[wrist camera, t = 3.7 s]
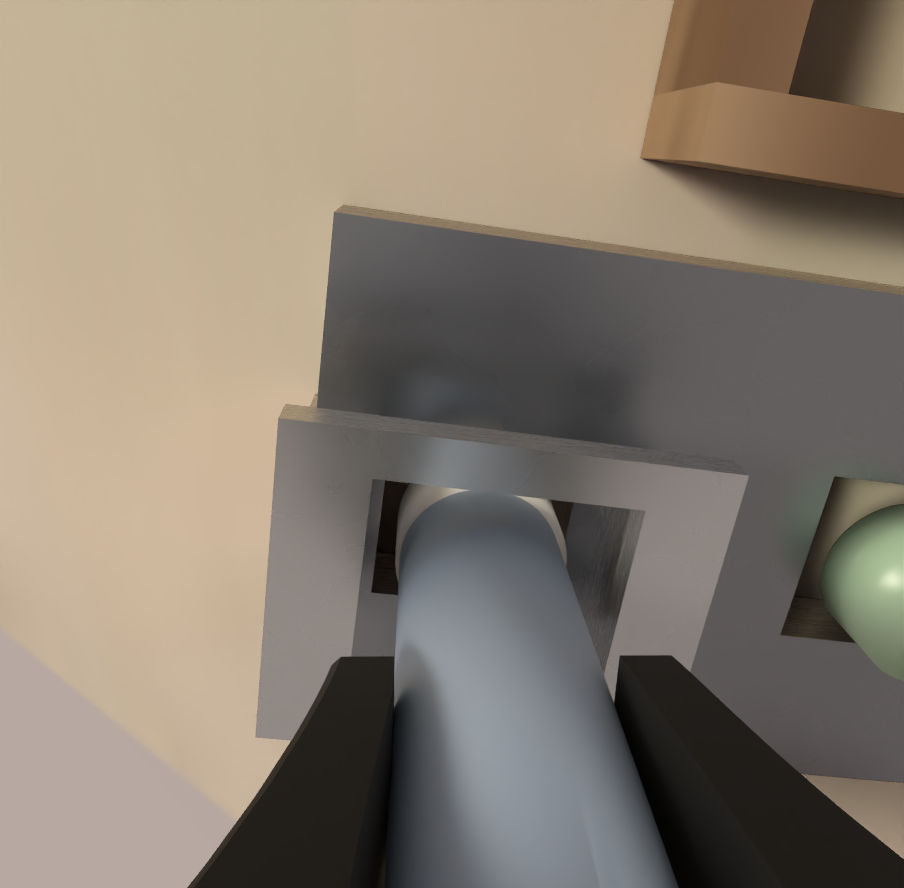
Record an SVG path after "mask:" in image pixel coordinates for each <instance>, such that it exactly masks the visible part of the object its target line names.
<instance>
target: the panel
mask: <svg viewBox="0 0 904 888" xmlns="http://www.w3.org/2000/svg"><path fill="white" fill-rule="evenodd" d="M834 476H837V477H845V478H853V479H861V480H870V481H878V482H886V483H894V484H902V485H904V287H899V286H892V285H885V284H878V283H872V282H865V281H858V280H851V279H844V278H838V277H831V276H824V275H817V274H810V273H804V272H797V271H790V270H783V269H776V268H770V267H763V266H756V265H749V264H742V263H736V262H729V261H722V260H715V259H708V258H702V257H695V256H688V255H681V254H674V253H668V252H661V251H654V250H647V249H640V248H634V247H627V246H620V245H613V244H606V243H600V242H593V241H586V240H579V239H572V238H566V237H559V236H552V235H545V234H538V233H532V232H525V231H518V230H511V229H504V228H498V227H491V226H484V225H477V224H470V223H464V222H457V221H450V220H443V219H436V218H430V217H423V216H416V215H409V214H402V213H396V212H389V211H382V210H375V209H368V208H362V207H355V206H348V205H343V206H341V207H340V208H339V209H337V210H336V211H335V212H334V219H333V230H332V242H331V253H330V264H329V275H328V286H327V298H326V309H325V320H324V331H323V342H322V354H321V365H320V376H319V387H318V394H315V395H314V398H313V400H312V403H311V405H310V407H307V406H299V405H291V404H285V406H284V408H283V410H282V412H281V414H280V416H279V418H278V431H277V445H276V459H275V473H274V487H273V501H272V515H271V529H270V543H269V556H268V570H267V584H266V598H265V612H264V626H263V640H262V654H261V668H260V682H259V696H258V710H257V724H256V737H258V738H270V739H281V740H292V739H293V737H294V735H295V734H296V732H297V730H298V729H299V727H300V725H301V723H302V722H303V720H304V718H305V717H306V715H307V713H308V711H309V710H310V708H311V706H312V704H313V702H314V700H315V699H316V697H317V695H318V693H319V691H320V689H321V687H322V685H323V683H324V681H325V679H326V676H327V674H328V672H329V669H330V667H331V665H332V664H333V663H334V662H335V661H337V660H338V659H339V658H340V657H353V656H394V670H395V648H396V627H397V605H398V579H397V575H396V568H395V556H396V553H388V552H379V551H376V549H377V541H378V533H379V525H380V517H381V509H382V501H383V493H384V485H385V480H387V481H396V482H404V483H413V484H421V485H430V486H438V487H447V488H455V489H464V490H472V491H481V492H490V493H498V494H507V495H515V496H524V497H532V498H541V499H549V500H552V506H553V509H554V512H555V514H556V517H557V520H558V522H559V525H560V528H561V530H562V533H563V537H564V540H565V544H566V551H567V563H566V568H567V571H568V574H569V577H570V580H571V582H572V585H573V588H574V591H575V594H576V597H577V600H578V602H579V605H580V608H581V611H582V614H583V617H584V619H585V622H586V625H587V628H588V631H589V634H590V637H591V639H592V642H593V645H594V648H595V651H596V654H597V657H598V659H599V662H600V665H601V668H602V671H603V674H604V676H605V679H606V682H607V685H608V688H609V691H610V694H611V696H612V699H613V702H614V699H615V690H616V682H617V673H618V665H619V657H620V655H672V656H673V657H674V658H675V659H676V660H677V661H679V662H680V663H681V664H682V665H683V666H684V667H685V668H686V669H687V670H689V671H690V672H691V673H692V674H693V675H694V676H695V677H696V678H697V679H698V680H699V681H700V682H701V683H702V684H703V685H705V686H706V687H707V688H708V689H709V690H710V691H711V692H712V693H713V694H714V695H715V696H716V697H717V698H718V699H719V700H720V701H721V702H723V703H724V704H725V705H726V706H727V707H728V708H729V709H730V710H731V711H732V712H733V713H734V714H735V715H736V716H738V717H739V718H740V719H741V720H742V721H743V722H744V723H745V724H746V725H747V726H748V727H749V728H750V729H751V730H753V731H754V732H755V733H756V734H757V735H758V736H759V737H760V738H761V739H762V740H763V741H765V742H766V743H767V744H768V745H769V746H770V747H771V748H772V749H773V750H774V751H775V752H777V753H778V754H779V755H780V756H781V757H782V758H783V759H784V760H786V761H787V762H788V763H789V764H790V765H791V766H792V767H793V768H795V769H796V770H797V771H798V772H799V773H800V774H809V775H820V776H831V777H843V778H854V779H865V780H876V781H888V782H899V783H904V681H902V680H899V679H896V678H894V677H892V676H889V675H888V674H886V673H885V672H883V671H882V670H881V669H879V668H878V667H877V666H876V665H875V664H874V663H873V662H872V660H871V659H870V658H869V657H868V656H867V655H866V654H865V652H864V651H863V650H862V649H861V648H860V647H859V646H858V644H857V643H856V642H855V641H854V640H853V639H852V638H851V637H850V635H849V634H848V633H847V632H846V631H845V630H844V629H843V627H842V626H841V625H840V624H839V623H838V622H837V621H836V619H835V618H834V617H833V616H832V615H831V613H830V612H829V611H828V609H827V607H826V606H825V604H824V601H823V600H819V599H810V598H800V597H793V596H794V593H795V590H796V587H797V585H798V582H799V579H800V576H801V573H802V570H803V567H804V564H805V561H806V558H807V555H808V552H809V549H810V546H811V544H812V541H813V538H814V535H815V532H816V529H817V526H818V523H819V520H820V517H821V514H822V511H823V508H824V506H825V503H826V500H827V497H828V494H829V491H830V488H831V485H832V482H833V479H834Z"/></svg>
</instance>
